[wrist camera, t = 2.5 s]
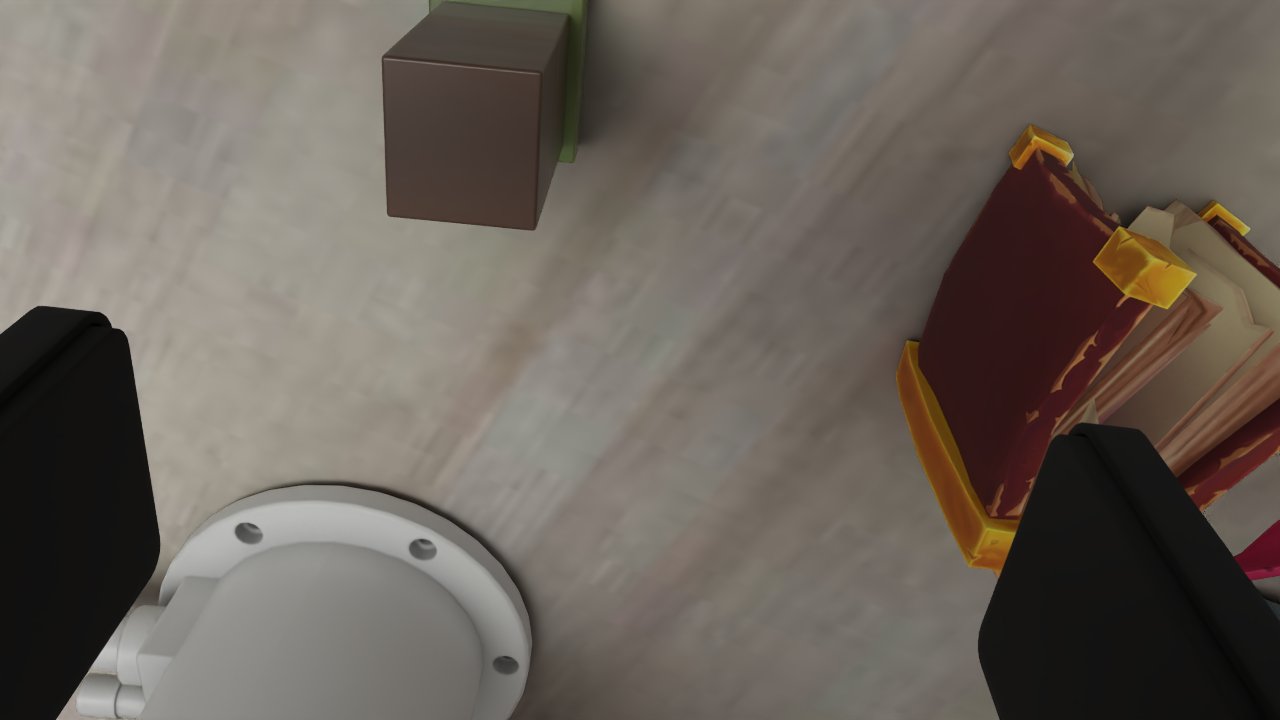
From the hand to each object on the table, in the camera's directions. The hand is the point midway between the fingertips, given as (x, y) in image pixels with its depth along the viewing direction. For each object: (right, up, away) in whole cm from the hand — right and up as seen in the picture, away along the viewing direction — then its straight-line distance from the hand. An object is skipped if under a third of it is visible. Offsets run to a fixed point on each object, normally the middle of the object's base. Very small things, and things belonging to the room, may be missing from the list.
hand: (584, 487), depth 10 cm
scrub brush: (-3, +9, +15) cm, 18 cm away
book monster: (+14, +2, +19) cm, 23 cm away
